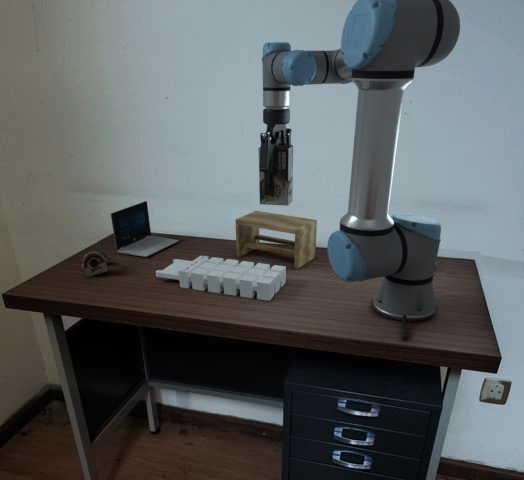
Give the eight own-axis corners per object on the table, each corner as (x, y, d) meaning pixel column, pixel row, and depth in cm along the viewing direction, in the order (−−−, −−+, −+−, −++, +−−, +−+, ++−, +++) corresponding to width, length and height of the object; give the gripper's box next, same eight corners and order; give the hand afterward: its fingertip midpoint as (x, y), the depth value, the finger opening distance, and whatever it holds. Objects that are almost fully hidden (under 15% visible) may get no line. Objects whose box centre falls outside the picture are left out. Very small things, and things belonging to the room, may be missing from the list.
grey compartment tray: (269, 283, 128) (152, 267, 139) (269, 300, 130) (154, 283, 141) (285, 266, 138) (176, 252, 150) (285, 282, 141) (177, 267, 152)
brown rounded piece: (67, 259, 143) (96, 254, 140) (89, 241, 153) (117, 236, 150) (78, 281, 147) (106, 277, 144) (99, 262, 157) (126, 258, 154)
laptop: (146, 258, 159) (141, 217, 152) (116, 252, 164) (109, 213, 157) (179, 242, 173) (175, 204, 166) (150, 237, 178) (146, 200, 171)
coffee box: (293, 201, 152) (294, 144, 144) (288, 206, 147) (289, 148, 139) (264, 199, 154) (264, 143, 146) (258, 204, 149) (257, 147, 141)
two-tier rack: (297, 269, 150) (298, 230, 144) (236, 256, 160) (235, 219, 154) (315, 257, 158) (317, 220, 152) (256, 246, 169) (255, 210, 163)
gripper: (282, 104, 147) (282, 184, 158) (244, 110, 132) (247, 198, 143) (305, 105, 143) (302, 187, 155) (269, 111, 128) (269, 201, 140)
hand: (276, 192), depth 149 cm, fingers closed on coffee box, 7 cm apart
